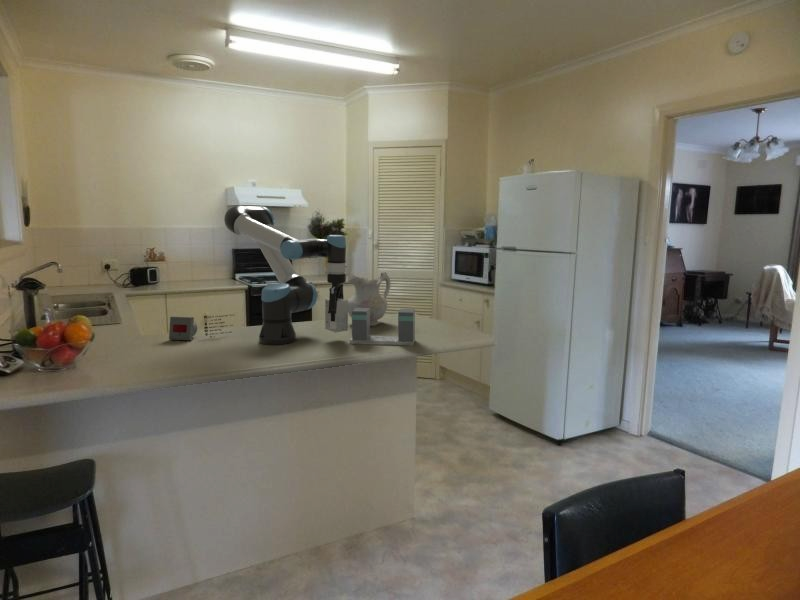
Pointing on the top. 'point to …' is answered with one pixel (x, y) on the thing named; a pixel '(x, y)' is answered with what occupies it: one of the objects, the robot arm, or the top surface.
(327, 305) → the small box
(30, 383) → the top surface
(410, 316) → the block
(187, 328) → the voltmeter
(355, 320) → the block
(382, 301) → the ceramic pitcher
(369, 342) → the rail plate
